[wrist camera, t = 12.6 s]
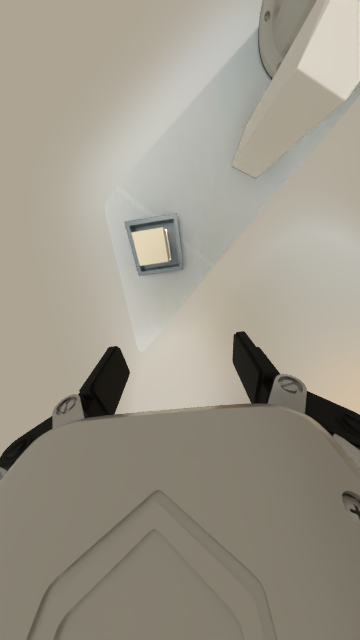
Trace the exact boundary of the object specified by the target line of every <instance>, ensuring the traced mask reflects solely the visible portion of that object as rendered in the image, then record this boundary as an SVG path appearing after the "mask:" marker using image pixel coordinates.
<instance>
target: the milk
mask: <svg viewBox="0 0 360 640" xmlns="http://www.w3.org/2000/svg"><path fill="white" fill-rule="evenodd" d="M359 82H360V0H317V1H316V3H315V5H314V6H313V8H312V10H311V12H310V14H309V15H308V17H307V19H306V21H305V22H304V24H303V26H302V28H301V29H300V31H299V33H298V35H297V37H296V38H295V40H294V42H293V44H292V45H291V47H290V49H289V51H288V52H287V54H286V56H285V58H284V60H283V61H282V63H281V65H280V67H279V68H278V70H277V72H276V74H275V76H274V77H273V79H272V81H271V83H270V84H269V86H268V88H267V90H266V91H265V93H264V95H263V97H262V99H261V100H260V102H259V104H258V106H257V107H256V109H255V111H254V113H253V115H252V116H251V118H250V120H249V122H248V123H247V125H246V128H245V130H244V133H243V136H242V139H241V141H240V144H239V147H238V149H237V152H236V155H235V158H234V160H233V163H232V167H234V168H236V169H238V170H240V171H242V172H244V173H246V174H248V175H250V176H252V177H254V178H257V177H258V176H259V175H260V174H261V173H263V172H264V171H265V170H266V169H267V168H268V167H269V166H271V165H272V164H273V163H274V162H275V161H276V160H278V159H279V158H280V157H281V156H282V155H283V154H285V153H286V152H287V151H288V150H289V149H290V148H291V147H293V146H294V145H295V144H296V143H297V142H298V141H300V140H301V139H302V138H303V137H304V136H305V135H307V134H308V133H309V132H310V131H311V130H312V129H313V128H315V127H316V126H317V125H318V124H319V123H320V122H322V121H323V120H324V119H325V118H326V117H327V116H329V115H330V114H331V113H332V112H333V111H334V110H335V109H337V108H338V107H339V106H340V105H341V104H342V103H344V102H345V101H346V100H347V98H348V97H349V96H350V94H351V93H352V91H353V90H354V89H355V87H356V86H357V84H358V83H359Z"/></svg>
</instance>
